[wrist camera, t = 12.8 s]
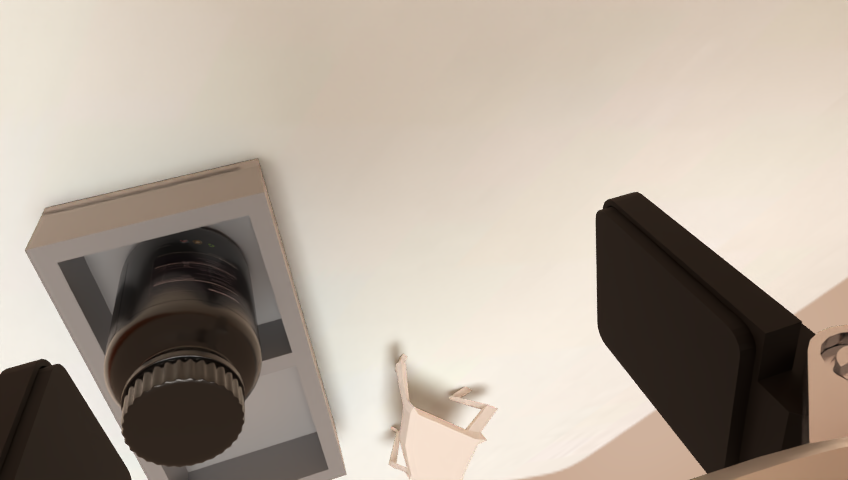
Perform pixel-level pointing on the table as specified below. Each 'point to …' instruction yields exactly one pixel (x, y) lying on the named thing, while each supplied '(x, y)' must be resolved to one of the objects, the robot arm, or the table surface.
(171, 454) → the supplement bottle
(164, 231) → the divided tray
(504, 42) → the table surface
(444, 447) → the origami figure
